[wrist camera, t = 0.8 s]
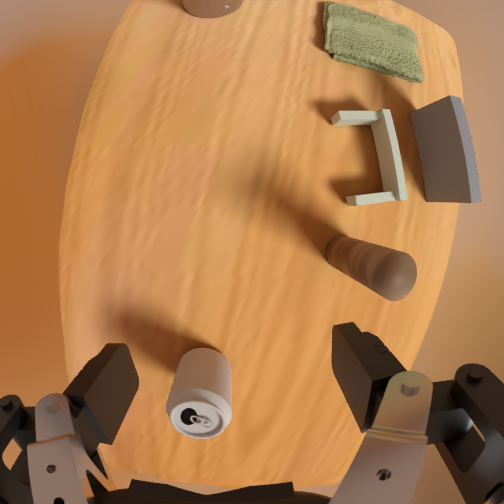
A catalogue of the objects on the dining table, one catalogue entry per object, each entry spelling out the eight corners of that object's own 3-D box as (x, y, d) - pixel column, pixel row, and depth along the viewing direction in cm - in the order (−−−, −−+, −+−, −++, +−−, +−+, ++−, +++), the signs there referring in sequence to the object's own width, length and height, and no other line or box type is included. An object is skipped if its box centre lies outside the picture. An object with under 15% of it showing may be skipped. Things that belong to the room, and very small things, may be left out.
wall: (409, 113, 33) (449, 95, 23) (420, 114, 33) (460, 97, 23) (426, 201, 35) (471, 202, 25) (436, 200, 35) (481, 201, 26)
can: (184, 338, 36) (167, 389, 24) (237, 352, 37) (240, 406, 25) (175, 379, 37) (159, 434, 25) (224, 391, 38) (223, 448, 26)
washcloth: (318, 4, 30) (324, -7, 26) (409, 35, 31) (417, 27, 28) (320, 60, 32) (327, 49, 28) (419, 91, 33) (430, 85, 30)
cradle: (330, 117, 32) (341, 108, 28) (375, 117, 33) (389, 109, 29) (347, 205, 34) (360, 205, 30) (391, 199, 35) (407, 199, 31)
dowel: (323, 238, 35) (376, 257, 21) (353, 233, 35) (416, 248, 21) (327, 271, 36) (378, 306, 22) (357, 265, 36) (416, 294, 22)
